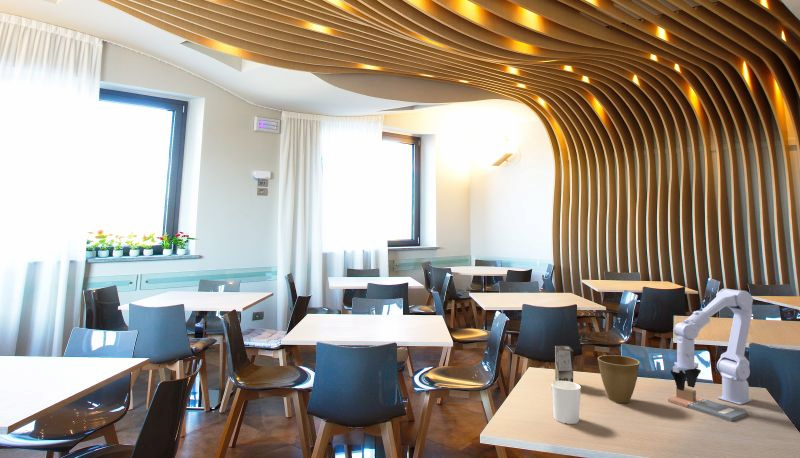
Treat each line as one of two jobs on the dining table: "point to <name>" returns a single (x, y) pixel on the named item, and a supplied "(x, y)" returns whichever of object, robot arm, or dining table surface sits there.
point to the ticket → (718, 410)
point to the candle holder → (566, 401)
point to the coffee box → (563, 363)
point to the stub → (685, 397)
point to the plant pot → (618, 376)
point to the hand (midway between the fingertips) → (685, 388)
